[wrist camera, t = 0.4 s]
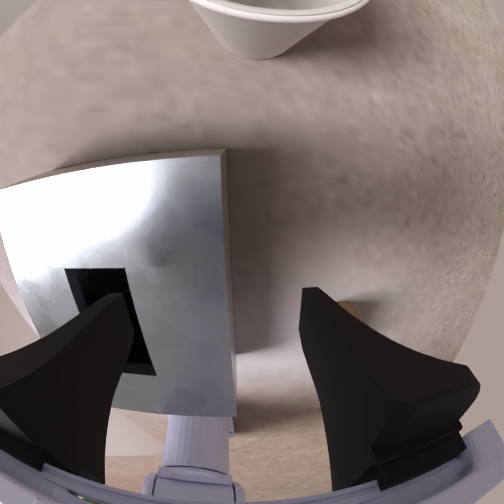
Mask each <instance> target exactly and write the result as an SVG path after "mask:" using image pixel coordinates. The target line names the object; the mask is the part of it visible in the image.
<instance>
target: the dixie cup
mask: <svg viewBox="0 0 504 504" xmlns="http://www.w3.org/2000/svg"><path fill="white" fill-rule="evenodd" d="M189 1H190V2H191V4H192V5H193V6H194V8H195V9H196V10H197V12H198V13H199V15H200V16H201V17H202V19H203V20H204V21H205V23H206V24H207V26H208V27H209V28H210V30H211V31H212V33H213V34H214V36H215V37H216V38H217V40H218V41H219V43H220V44H221V45H222V46H223V47H224V48H225V49H226V50H227V51H229V52H230V53H232V54H234V55H236V56H239V57H242V58H246V59H253V60H262V59H269V58H273V57H276V56H278V55H280V54H282V53H284V52H285V51H287V50H288V49H289V48H291V47H292V46H293V45H295V44H296V43H297V42H299V41H300V40H301V39H303V38H304V37H306V36H307V35H308V34H310V33H311V32H313V31H314V30H316V29H317V28H319V27H320V26H322V25H323V24H325V23H326V22H328V21H329V20H331V19H335V18H339V17H342V16H345V15H348V14H350V13H352V12H354V11H356V10H358V9H360V8H361V7H363V6H364V5H365V4H367V3H368V2H369V1H370V0H189Z"/></svg>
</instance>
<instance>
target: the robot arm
mask: <svg viewBox="0 0 504 504" xmlns="http://www.w3.org/2000/svg"><path fill="white" fill-rule="evenodd" d="M299 333H300V338H301V343H302V348H303V352H304V355H305V358H306V361H307V364H308V367H309V370H310V373H311V376H312V379H313V382H314V385H315V388H316V391H317V394H318V398H319V401H320V406H321V411H322V416H323V421H324V426H325V432H326V438H327V445H328V452H329V460H330V469H331V480H332V492H329V493H324V494H318V495H313V496H307V497H300V498H293V499H285V500H275V501H263V502H246V496H245V491H244V488H243V487H242V486H241V485H240V484H239V483H238V482H232V475H229V437H234V436H235V433H234V426H233V418H232V417H200V416H180V415H168V417H169V422H168V428H167V434H166V441H165V447H164V454H163V461H162V467H160V466H159V467H158V473H154V472H152V473H151V474H150V475H148V476H147V477H146V478H145V481H144V484H143V489H142V494H140V493H135V492H131V491H126V490H122V489H118V488H114V487H111V486H107V485H105V445H106V435H107V427H108V420H109V415H110V410H111V405H112V401H113V397H114V394H115V391H116V388H117V386H118V383H119V380H120V377H121V375H122V372H123V369H124V367H125V364H126V361H127V359H128V356H129V353H130V350H131V346H132V341H133V337H134V329H133V326H132V323H131V320H130V317H129V314H128V310H127V307H126V304H125V300H124V297H123V293H109V294H107V295H106V296H104V297H102V298H101V299H99V300H98V301H96V302H95V303H94V304H92V305H91V306H89V307H88V308H87V309H85V310H84V311H82V312H81V313H80V314H78V315H77V316H75V317H74V318H73V319H71V320H70V321H68V322H67V323H65V324H64V325H62V326H61V327H59V328H58V329H56V330H55V331H53V332H51V333H50V334H48V335H46V336H45V337H43V338H41V339H39V340H37V341H35V342H34V343H31V344H29V345H27V346H25V347H23V348H21V349H18V350H16V351H14V352H11V353H8V354H5V355H2V356H0V503H1V504H92V503H90V502H87V501H85V500H83V499H80V498H79V497H78V496H80V497H83V498H85V499H88V500H91V501H94V502H97V503H100V504H474V503H475V502H477V501H478V500H479V499H481V498H482V497H483V496H484V495H485V494H487V493H488V492H489V491H490V490H492V489H493V488H494V487H495V486H496V485H497V484H499V483H500V482H501V481H502V480H503V479H504V443H503V441H502V439H501V437H500V435H499V434H498V432H497V430H496V428H495V427H494V425H493V423H492V422H491V420H488V421H486V422H485V423H483V424H482V425H480V426H478V427H477V428H475V429H473V430H472V431H470V432H469V433H467V434H466V435H465V436H463V437H461V435H460V433H459V431H460V430H461V429H462V424H461V423H460V421H459V419H460V418H461V417H462V416H463V414H464V413H465V412H466V411H467V410H468V408H469V407H470V406H471V404H472V403H473V402H474V400H475V399H476V397H477V395H478V393H479V391H480V383H479V382H478V380H477V379H476V377H475V376H474V375H473V373H472V372H471V370H470V369H469V368H468V366H466V365H462V364H457V363H453V362H448V361H444V360H440V359H437V358H434V357H431V356H428V355H425V354H422V353H420V352H417V351H414V350H412V349H410V348H408V347H405V346H403V345H401V344H399V343H397V342H395V341H393V340H391V339H389V338H387V337H385V336H384V335H382V334H380V333H378V332H377V331H375V330H373V329H372V328H370V327H369V326H367V325H366V324H364V323H363V322H361V321H360V320H359V319H357V318H356V317H354V316H353V315H352V314H350V313H349V312H348V311H347V310H345V309H344V308H343V307H342V306H340V305H339V304H338V303H337V302H335V301H334V300H333V299H332V298H331V297H329V296H328V295H327V294H326V293H325V292H323V291H322V290H321V289H320V288H318V287H311V288H302V300H301V311H300V321H299Z"/></svg>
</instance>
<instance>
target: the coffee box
mask: <svg viewBox="0 0 504 504" xmlns="http://www.w3.org/2000/svg"><path fill="white" fill-rule="evenodd" d="M83 500H85V501H87V502H90V503H92V504H100V503H97V502H94V501H91V500H88V499H85V498H83Z"/></svg>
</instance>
